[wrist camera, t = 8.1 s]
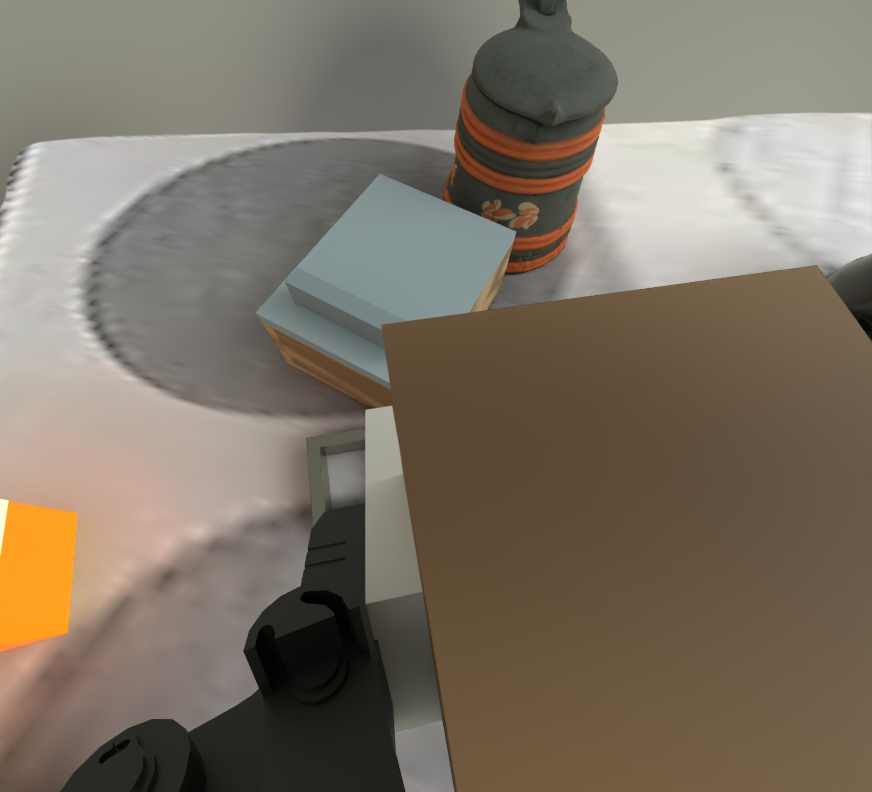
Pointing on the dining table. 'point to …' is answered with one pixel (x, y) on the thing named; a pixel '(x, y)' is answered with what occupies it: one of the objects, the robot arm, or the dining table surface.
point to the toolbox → (350, 379)
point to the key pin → (646, 536)
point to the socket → (318, 464)
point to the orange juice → (34, 572)
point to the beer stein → (530, 130)
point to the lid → (385, 274)
